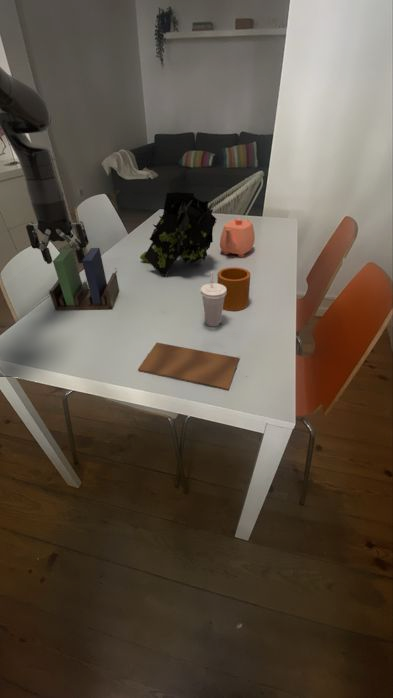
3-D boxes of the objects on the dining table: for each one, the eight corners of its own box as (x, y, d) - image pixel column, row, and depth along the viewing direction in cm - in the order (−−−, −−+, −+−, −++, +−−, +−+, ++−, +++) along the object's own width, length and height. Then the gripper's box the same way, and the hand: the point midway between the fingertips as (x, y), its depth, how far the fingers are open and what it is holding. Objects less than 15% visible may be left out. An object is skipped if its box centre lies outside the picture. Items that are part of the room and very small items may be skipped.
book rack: (55, 310, 89) (49, 291, 85) (67, 292, 98) (62, 273, 94) (112, 309, 89) (108, 290, 85) (119, 291, 98) (116, 272, 94)
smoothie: (205, 314, 86) (205, 265, 78) (228, 318, 84) (230, 268, 76) (197, 326, 82) (196, 276, 73) (221, 331, 80) (223, 279, 71)
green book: (66, 305, 89) (52, 261, 81) (75, 290, 96) (64, 248, 88) (74, 305, 89) (62, 261, 81) (83, 290, 96) (72, 248, 88)
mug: (259, 297, 93) (262, 268, 88) (237, 314, 86) (240, 284, 80) (233, 288, 98) (235, 260, 92) (210, 304, 90) (211, 275, 85)
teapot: (231, 241, 130) (233, 210, 122) (259, 246, 125) (262, 214, 118) (210, 259, 116) (210, 225, 109) (240, 264, 112) (243, 230, 104)
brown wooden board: (138, 371, 68) (137, 369, 68) (156, 344, 76) (156, 342, 76) (228, 390, 63) (228, 388, 63) (239, 359, 71) (239, 357, 70)
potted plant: (129, 276, 109) (147, 202, 84) (151, 237, 121) (171, 163, 97) (186, 302, 112) (219, 238, 88) (201, 261, 125) (234, 195, 100)
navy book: (93, 304, 89) (81, 260, 81) (100, 289, 96) (90, 247, 88) (101, 304, 89) (91, 260, 81) (108, 289, 96) (99, 247, 88)
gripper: (10, 203, 73) (34, 268, 83) (71, 201, 73) (88, 267, 83) (24, 195, 79) (44, 257, 89) (80, 193, 79) (95, 256, 89)
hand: (65, 262), depth 86 cm, fingers open, 8 cm apart
